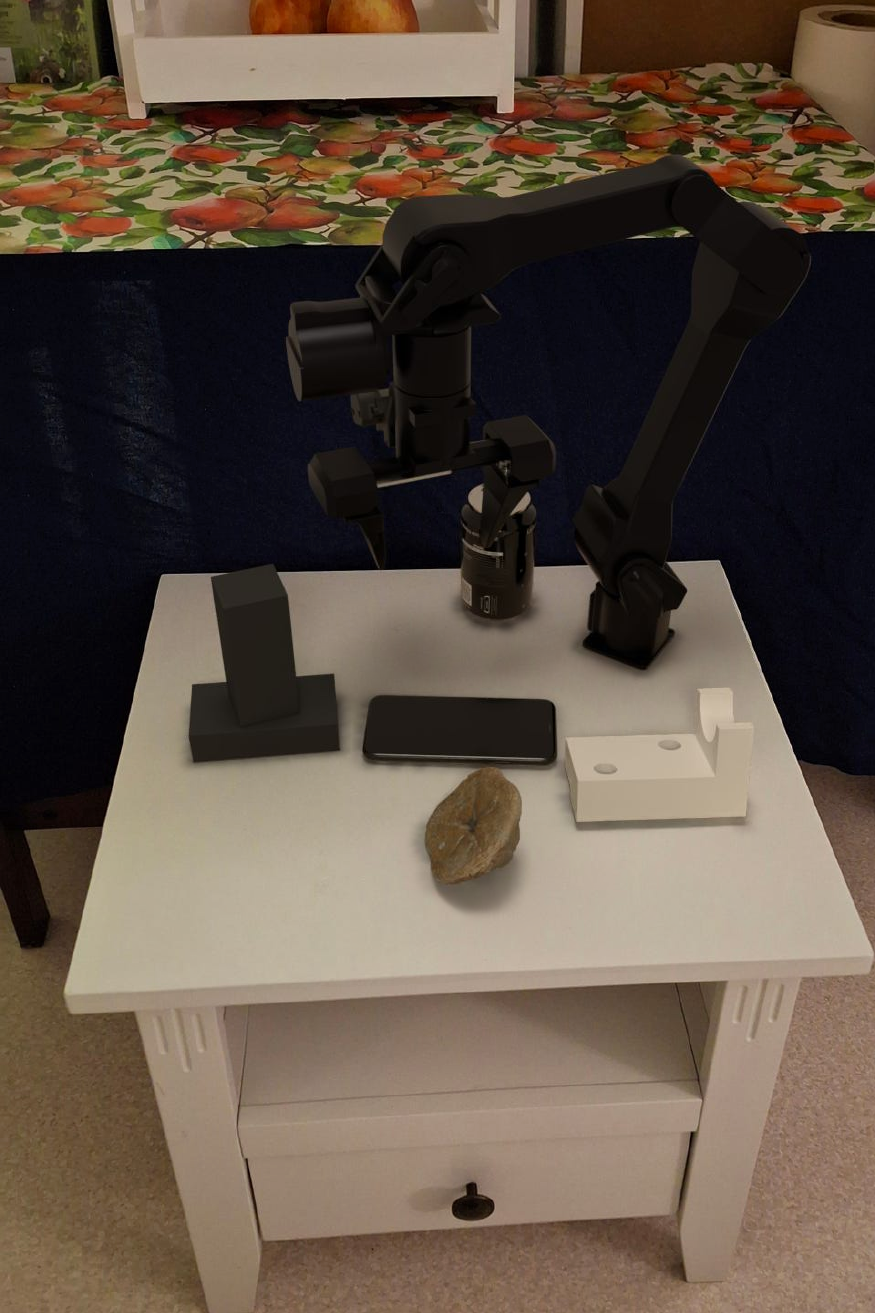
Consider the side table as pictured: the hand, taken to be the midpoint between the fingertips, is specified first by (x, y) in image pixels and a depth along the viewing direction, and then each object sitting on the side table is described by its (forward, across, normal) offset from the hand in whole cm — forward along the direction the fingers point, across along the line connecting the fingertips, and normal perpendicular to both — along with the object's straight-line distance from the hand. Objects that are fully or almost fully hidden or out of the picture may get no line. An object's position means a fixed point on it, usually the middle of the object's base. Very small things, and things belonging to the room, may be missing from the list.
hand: (433, 556), depth 100 cm
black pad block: (+10, +16, +2) cm, 19 cm away
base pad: (+13, +16, +1) cm, 20 cm away
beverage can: (+13, -9, -8) cm, 18 cm away
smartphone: (+13, +1, +8) cm, 15 cm away
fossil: (+13, +5, +21) cm, 25 cm away
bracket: (+13, -11, +19) cm, 26 cm away
